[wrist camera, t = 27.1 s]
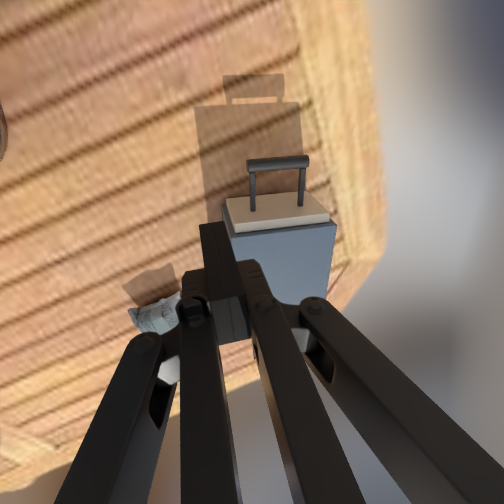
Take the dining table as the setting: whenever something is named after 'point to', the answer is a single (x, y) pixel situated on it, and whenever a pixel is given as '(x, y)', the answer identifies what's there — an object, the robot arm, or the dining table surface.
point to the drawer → (276, 200)
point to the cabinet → (289, 257)
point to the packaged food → (156, 315)
